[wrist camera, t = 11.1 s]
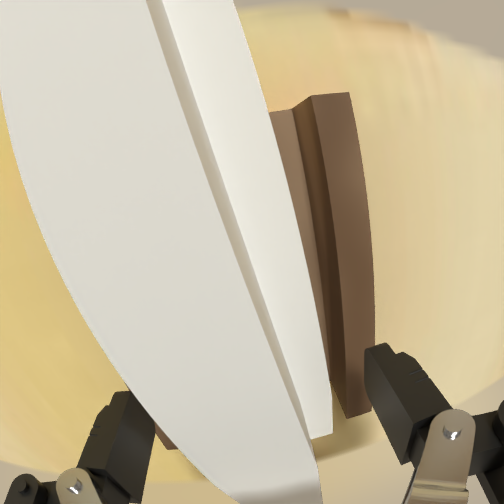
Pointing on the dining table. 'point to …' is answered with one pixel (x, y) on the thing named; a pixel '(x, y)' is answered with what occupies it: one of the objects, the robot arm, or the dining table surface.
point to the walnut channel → (331, 235)
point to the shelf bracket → (174, 226)
